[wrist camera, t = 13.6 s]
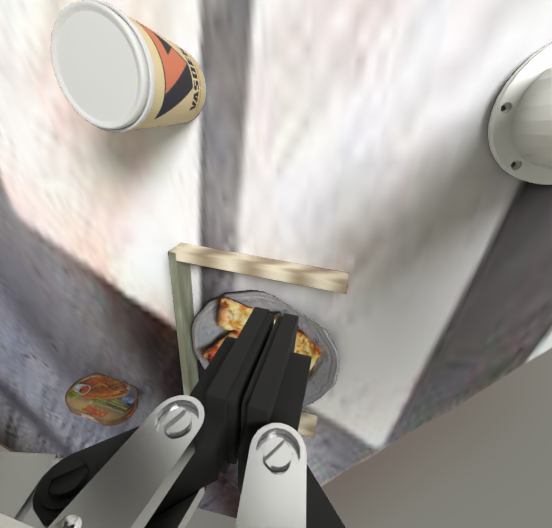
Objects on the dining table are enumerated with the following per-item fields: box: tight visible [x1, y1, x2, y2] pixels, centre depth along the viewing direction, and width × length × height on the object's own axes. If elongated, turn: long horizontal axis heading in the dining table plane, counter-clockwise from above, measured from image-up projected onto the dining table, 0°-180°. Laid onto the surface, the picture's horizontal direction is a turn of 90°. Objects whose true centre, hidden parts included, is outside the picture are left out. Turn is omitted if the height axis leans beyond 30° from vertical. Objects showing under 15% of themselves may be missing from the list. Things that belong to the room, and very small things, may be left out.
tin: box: [65, 374, 138, 426], centre depth 61 cm, size 15×3×8 cm, turn 81°
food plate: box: [191, 290, 339, 406], centre depth 47 cm, size 25×23×4 cm
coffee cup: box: [51, 0, 206, 133], centre depth 28 cm, size 9×9×12 cm
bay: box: [168, 243, 349, 438], centre depth 46 cm, size 25×31×4 cm
